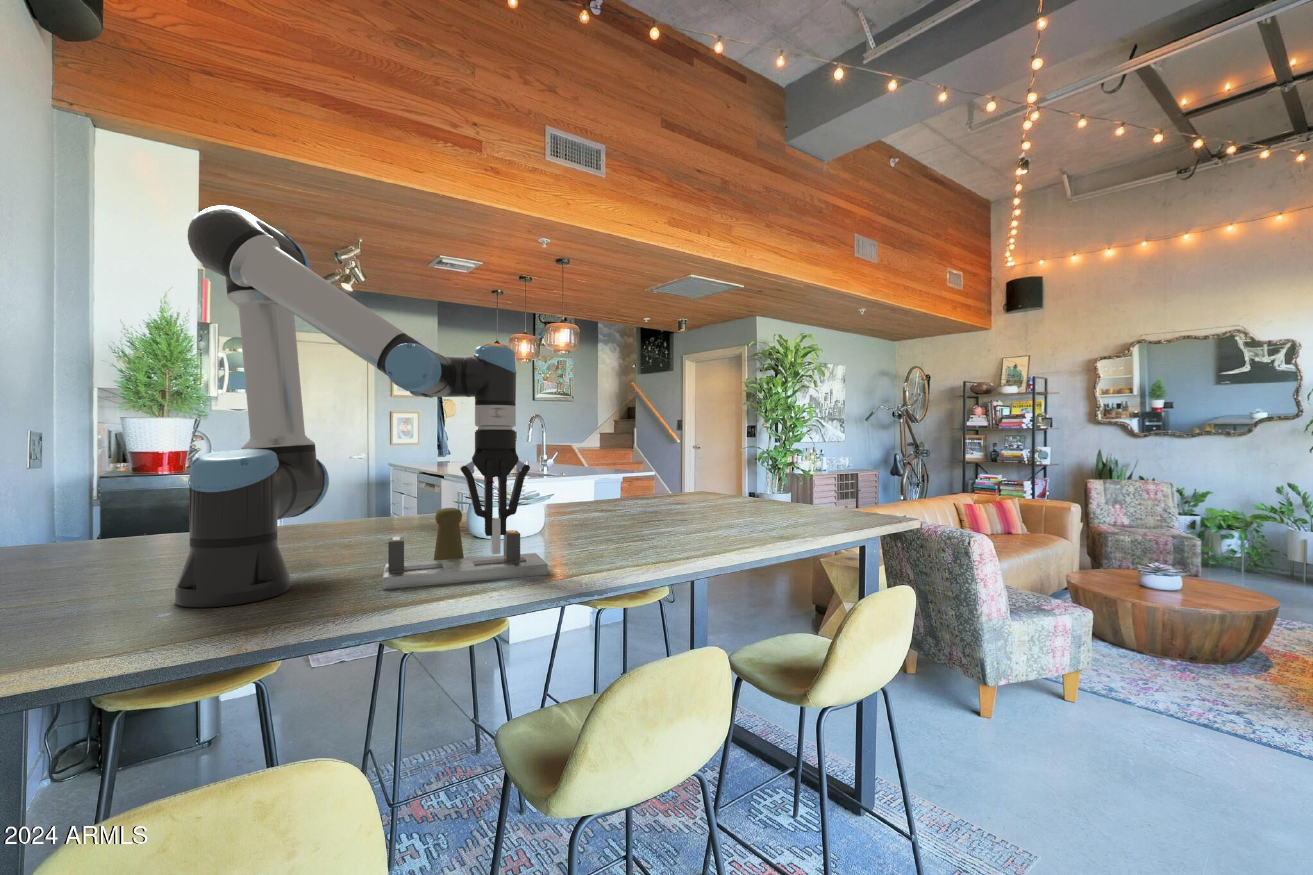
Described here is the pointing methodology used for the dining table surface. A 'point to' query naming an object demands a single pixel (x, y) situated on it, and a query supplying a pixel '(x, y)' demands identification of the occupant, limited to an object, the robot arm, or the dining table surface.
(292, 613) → the dining table surface
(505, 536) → the block
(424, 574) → the panel
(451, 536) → the cork
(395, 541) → the block
